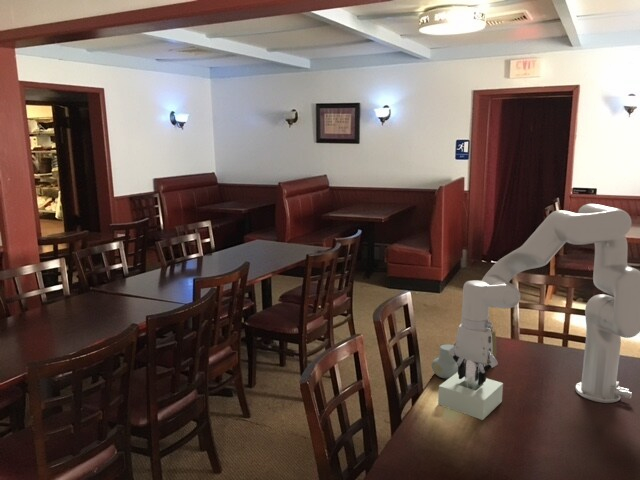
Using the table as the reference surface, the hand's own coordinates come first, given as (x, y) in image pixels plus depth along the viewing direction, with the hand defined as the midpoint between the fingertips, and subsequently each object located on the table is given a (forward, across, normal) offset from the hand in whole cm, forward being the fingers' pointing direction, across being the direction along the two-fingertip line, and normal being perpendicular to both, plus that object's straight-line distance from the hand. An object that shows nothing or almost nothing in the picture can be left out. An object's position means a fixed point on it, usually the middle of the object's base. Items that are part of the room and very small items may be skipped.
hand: (471, 379), depth 161 cm
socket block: (+7, 0, 0) cm, 7 cm away
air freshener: (+8, +14, -13) cm, 21 cm away
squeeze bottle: (+8, +9, -31) cm, 33 cm away
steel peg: (+6, 0, 0) cm, 6 cm away
